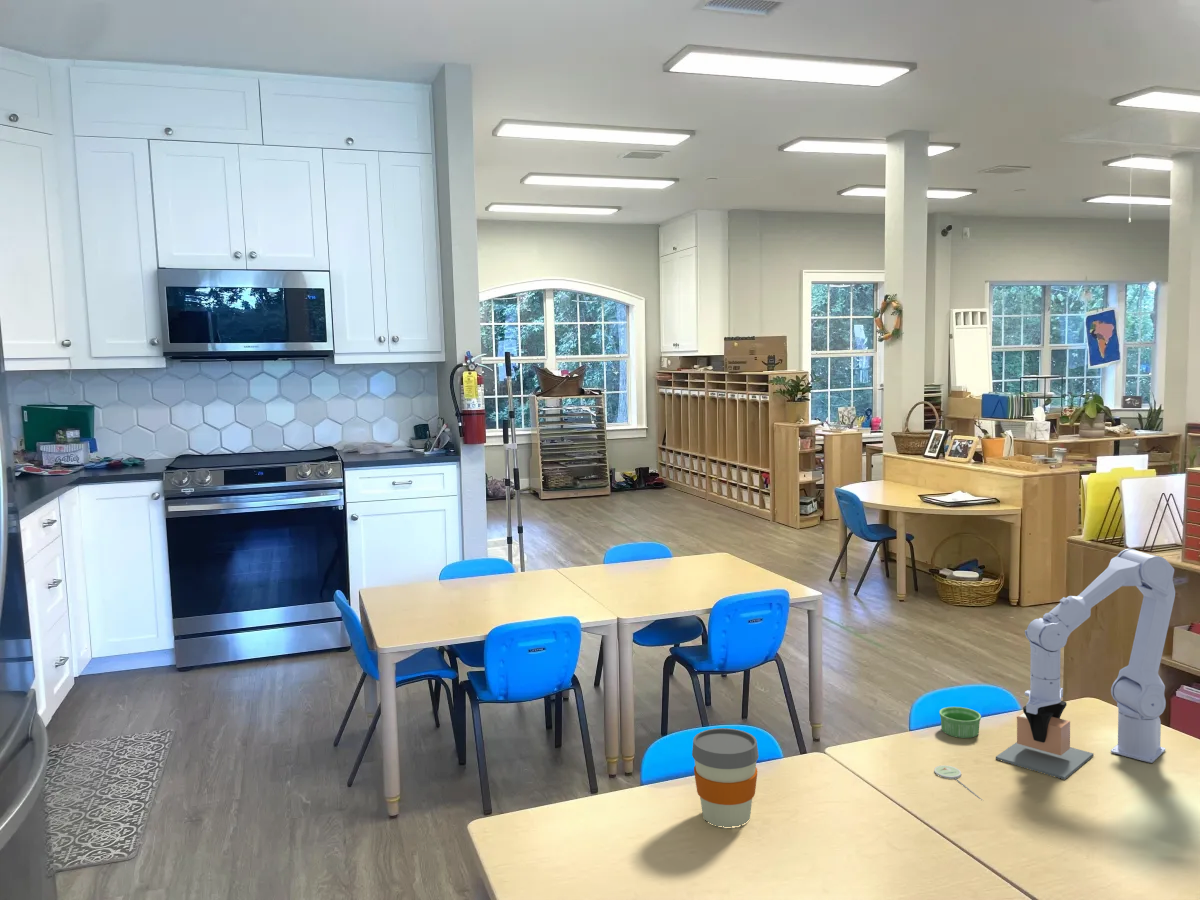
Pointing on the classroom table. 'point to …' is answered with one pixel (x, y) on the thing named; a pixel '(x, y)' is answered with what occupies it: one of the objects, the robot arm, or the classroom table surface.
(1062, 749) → the brick
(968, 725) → the ramekin
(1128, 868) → the classroom table surface
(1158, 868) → the classroom table surface
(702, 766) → the reusable coffee cup
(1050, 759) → the mat
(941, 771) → the sign
